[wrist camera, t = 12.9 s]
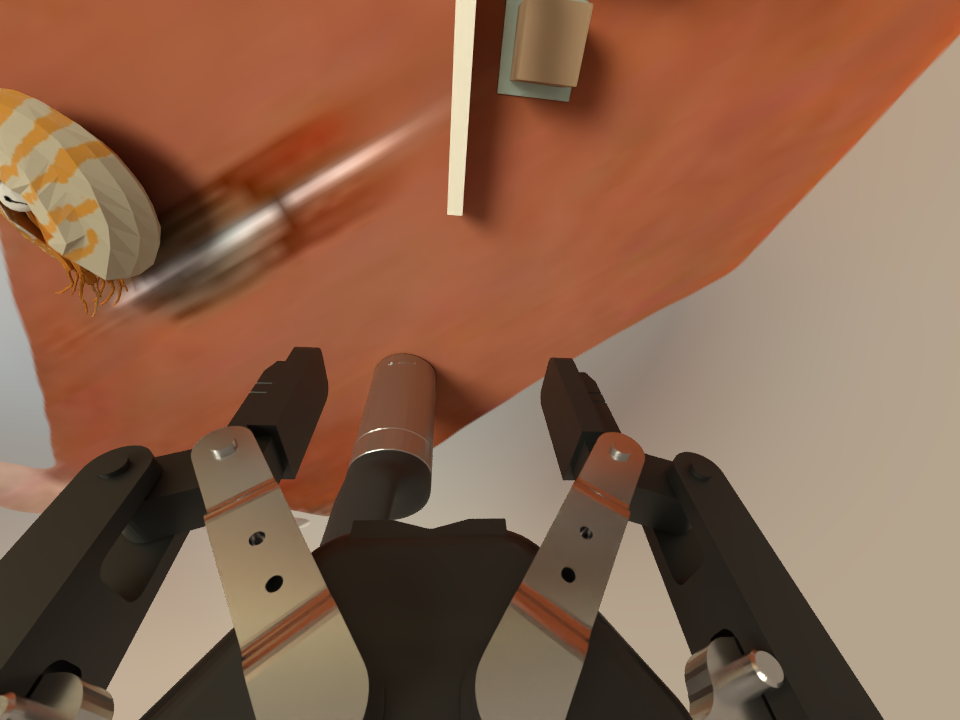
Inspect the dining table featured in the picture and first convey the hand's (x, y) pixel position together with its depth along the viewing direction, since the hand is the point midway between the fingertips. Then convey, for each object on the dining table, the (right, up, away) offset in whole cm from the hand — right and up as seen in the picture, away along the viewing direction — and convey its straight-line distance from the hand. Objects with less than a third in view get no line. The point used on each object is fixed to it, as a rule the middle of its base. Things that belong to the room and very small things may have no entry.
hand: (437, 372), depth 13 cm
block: (+7, +28, +19) cm, 35 cm away
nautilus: (-39, +16, +25) cm, 49 cm away
